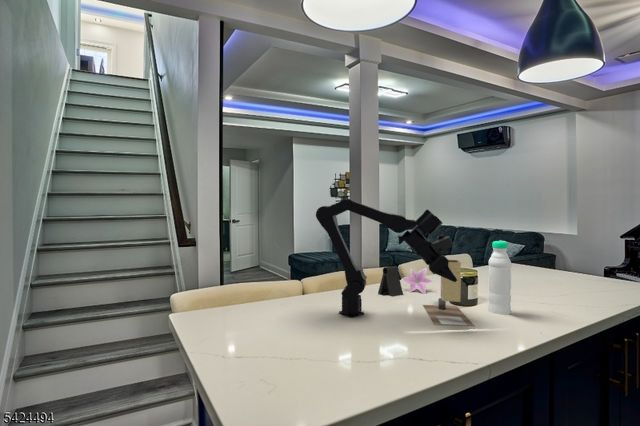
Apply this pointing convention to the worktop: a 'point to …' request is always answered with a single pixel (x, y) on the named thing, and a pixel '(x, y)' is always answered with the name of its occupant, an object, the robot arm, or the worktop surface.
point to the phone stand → (390, 282)
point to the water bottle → (499, 279)
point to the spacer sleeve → (452, 283)
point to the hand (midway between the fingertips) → (454, 279)
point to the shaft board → (447, 314)
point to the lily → (417, 280)
